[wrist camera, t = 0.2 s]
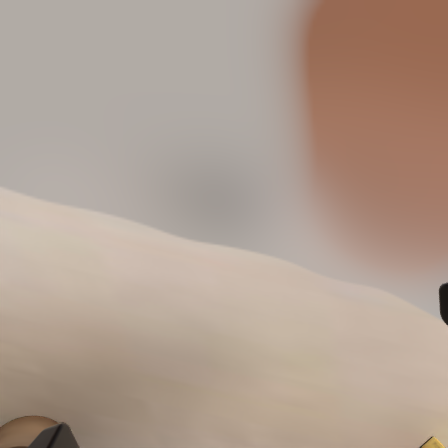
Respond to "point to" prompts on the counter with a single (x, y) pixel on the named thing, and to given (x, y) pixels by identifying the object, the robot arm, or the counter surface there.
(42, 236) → the counter surface
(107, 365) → the counter surface
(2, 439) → the pepper mill
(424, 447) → the candy box
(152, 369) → the counter surface
